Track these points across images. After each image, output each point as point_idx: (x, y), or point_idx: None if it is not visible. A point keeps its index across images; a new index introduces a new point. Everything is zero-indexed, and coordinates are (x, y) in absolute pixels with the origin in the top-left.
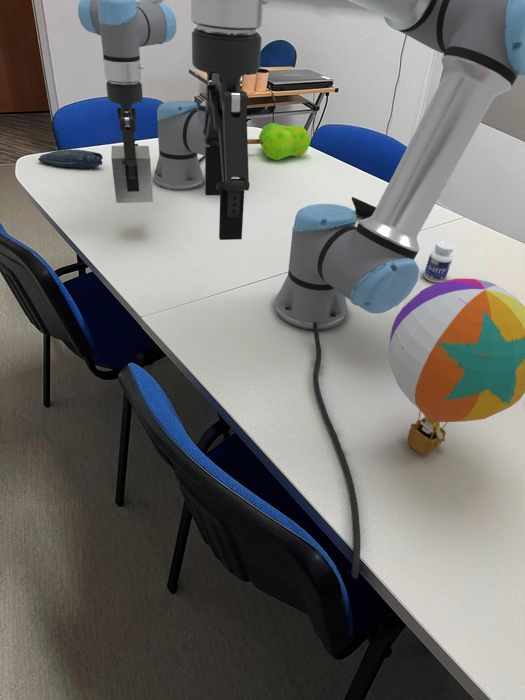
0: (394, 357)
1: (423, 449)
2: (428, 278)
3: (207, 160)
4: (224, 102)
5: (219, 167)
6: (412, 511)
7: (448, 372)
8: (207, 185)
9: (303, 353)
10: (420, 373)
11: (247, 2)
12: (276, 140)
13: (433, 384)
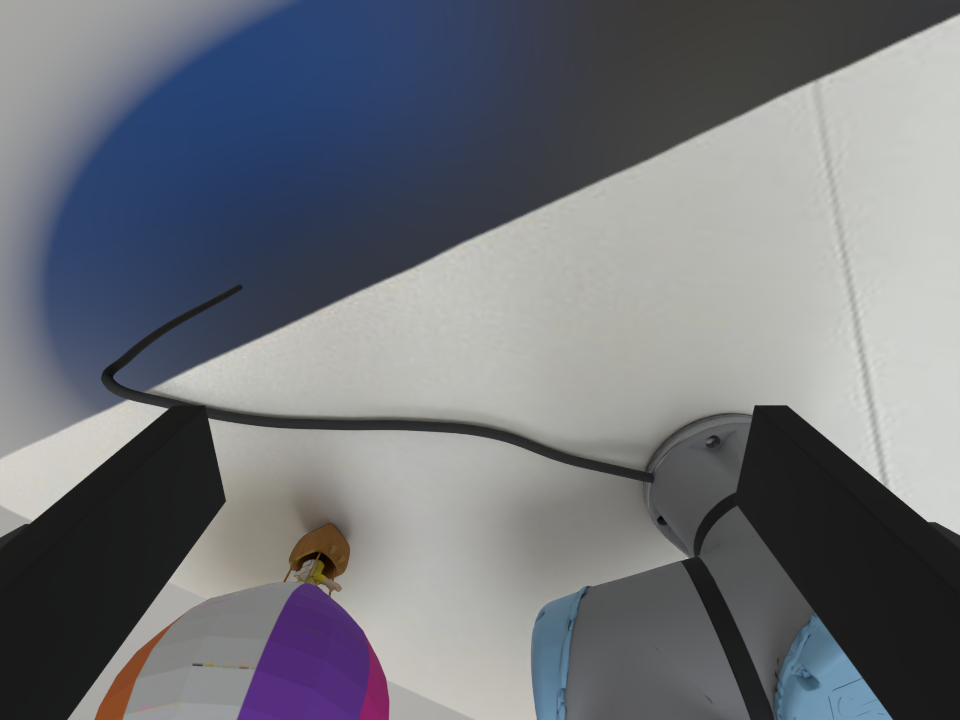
0: (236, 627)
1: (301, 541)
2: None
3: (913, 567)
4: None
5: (845, 600)
6: None
7: (103, 712)
8: (785, 445)
9: (580, 431)
10: (147, 659)
11: None
12: None
13: (132, 664)
